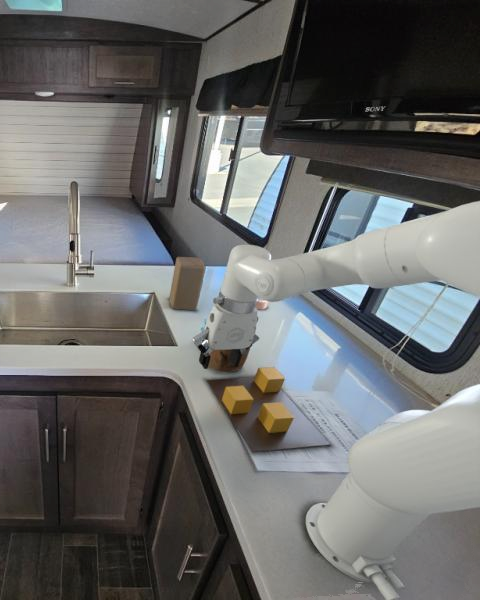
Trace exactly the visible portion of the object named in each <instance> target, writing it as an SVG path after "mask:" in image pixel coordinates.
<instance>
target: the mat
mask: <svg viewBox="0 0 480 600" xmlns="http://www.w3.org/2000/svg"><path fill="white" fill-rule="evenodd" d="M254 378H255V376H246V377H232V378H230V377H229V378H215V379H206V382H207V383H208V385H209V387H210V388H211V390H212V391H213V393H214V394H215V396H216V397H217V399H218V400H219V402H220V404H221V406H222V407H223V409H224V410H225V412H226V413H227V415H228V416H229V418H230V419H231V421H232V422H233V424H234V426H235V428H237V430H238V432H239V433H240V435H241V437H242V438H243V439H244V441H245V443H246V444H247V446H248V447H249V449H250V450H251V452H252V453H259V452H260V453H261V452H263V453H264V452H272V451H284V450H293V449H295V450H296V449H304V448H315V447H327V446H331V445H332V444H331V443H330V442H329V441H328V440H327V439H326V437H325V436H324V435H323V434H322V433H321V432H320V430H318V429H317V428H316V426H315V425H314V424H313V423H312V422H311V421H310V420H309V419H308V418H307V416H306V415H305V414H304V413H303V412H302V411H301V409H300V408H299V407H297V405H296V404H295V403H294V402H293V401H292V400H291V398H289V396H288V395H287V394H286V393H285V392H284V391H283V390H282V388H281V389H280V391H279V392H266V393H263V391H262V390H261V389H260V388H259V386H258V385H257V384H256V383H255V382H254ZM230 386H244V387H245V389H246V390H247V391H248V393H249V394H250V395H251V396H252V398H253V399H254V400H253V403H252V405H251V408H250V410H249V413H239V414H231V413H230V412H229V410H228V409H227V407H226V406H225V404H224V403H223V401H222V398H223V394H224V391H225V388H226V387H230ZM276 402H281V403H282V404H283V405H284V406H285V407H286V409H287V410H288V411H289V412H290V413H291V414H292V416H293V417H294V419H293V421H292V423H291V425H290V427H289V429H288V431H285V432H274V433H269V432H268V431H267V429H266V428H265V427H264V425H263V424H262V423H261V421H260V420H259V419H258V414H259V412H260V409H261V407H262V405H263V403H276Z"/></svg>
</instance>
